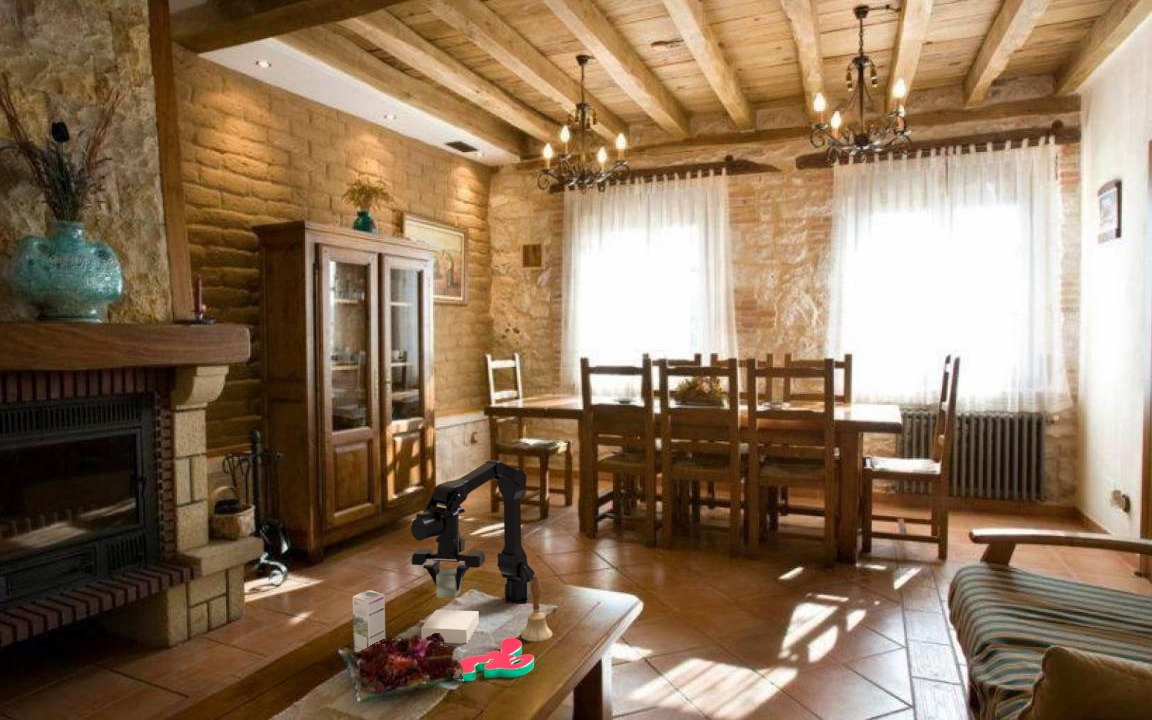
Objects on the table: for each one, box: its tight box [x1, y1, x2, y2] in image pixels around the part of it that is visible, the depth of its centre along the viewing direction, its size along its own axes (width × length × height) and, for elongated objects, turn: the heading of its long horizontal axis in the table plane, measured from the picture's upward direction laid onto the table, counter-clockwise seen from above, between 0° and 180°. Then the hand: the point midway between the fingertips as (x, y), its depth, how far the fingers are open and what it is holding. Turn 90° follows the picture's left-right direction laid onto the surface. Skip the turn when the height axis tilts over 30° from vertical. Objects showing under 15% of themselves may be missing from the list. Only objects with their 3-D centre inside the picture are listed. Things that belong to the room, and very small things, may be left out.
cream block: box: [420, 609, 480, 644], centre depth 184 cm, size 12×12×4 cm
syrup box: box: [352, 589, 386, 653], centre depth 173 cm, size 6×6×14 cm
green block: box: [435, 568, 461, 599], centre depth 185 cm, size 5×5×6 cm
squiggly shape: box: [458, 637, 535, 682], centre depth 166 cm, size 20×16×2 cm
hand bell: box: [520, 574, 553, 643], centre depth 182 cm, size 8×8×16 cm
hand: (448, 589), depth 185 cm, fingers closed on green block, 5 cm apart
